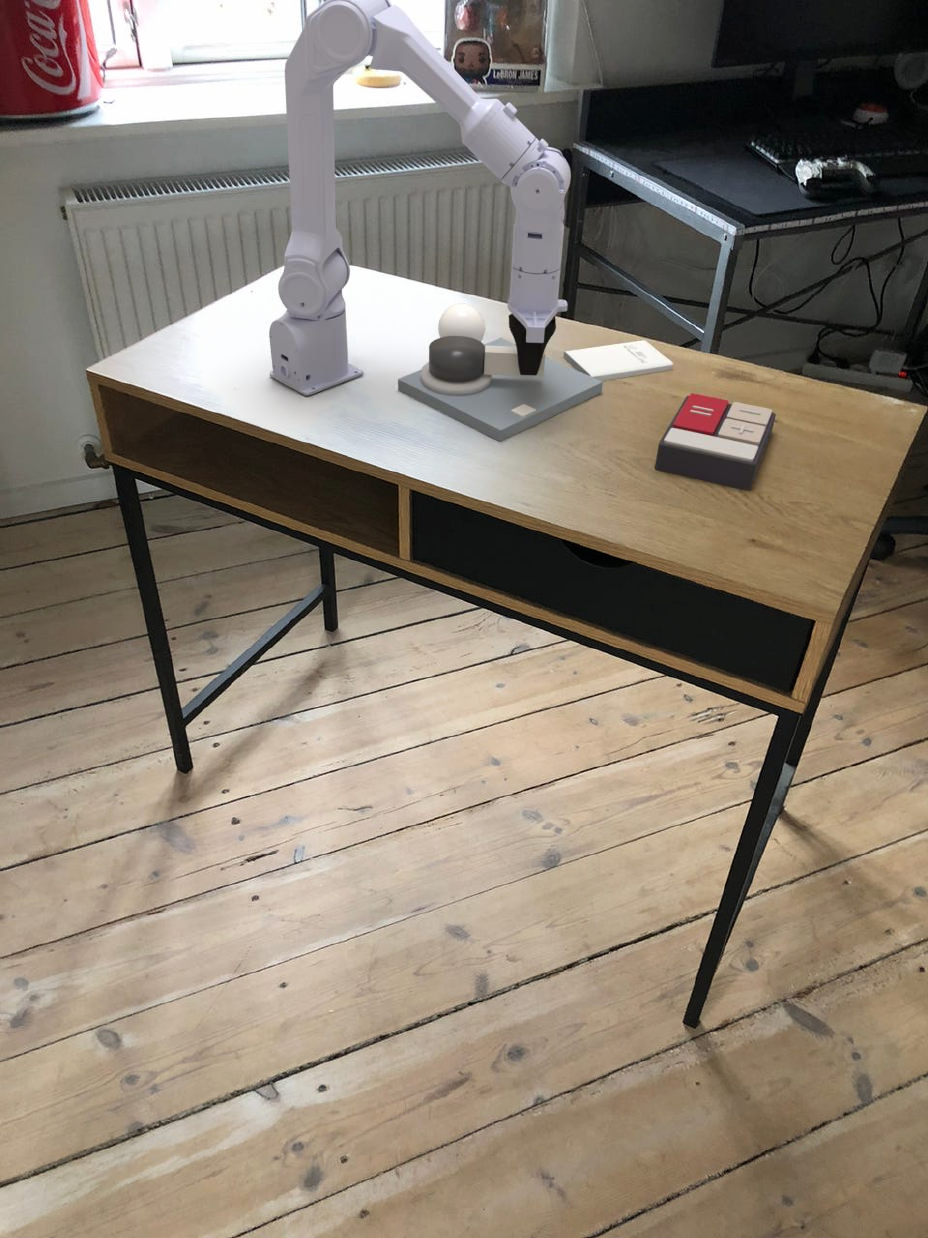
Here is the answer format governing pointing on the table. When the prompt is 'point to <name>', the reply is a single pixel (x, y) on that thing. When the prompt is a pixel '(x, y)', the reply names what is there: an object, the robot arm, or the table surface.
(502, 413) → the base
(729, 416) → the calculator
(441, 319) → the lightbulb
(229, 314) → the table surface
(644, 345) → the external hard drive
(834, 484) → the table surface
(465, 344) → the cap
